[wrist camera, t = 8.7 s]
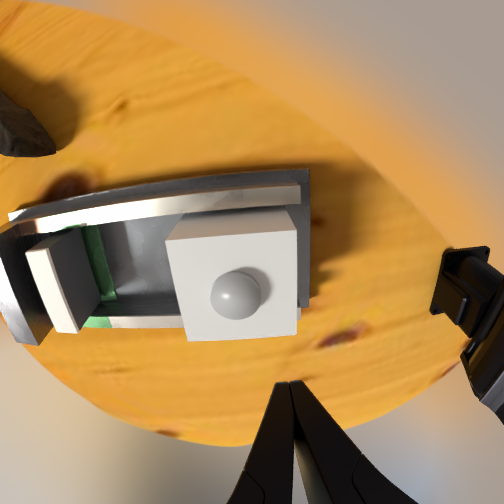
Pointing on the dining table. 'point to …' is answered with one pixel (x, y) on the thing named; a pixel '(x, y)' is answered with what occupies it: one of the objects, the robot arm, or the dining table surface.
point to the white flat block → (64, 279)
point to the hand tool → (22, 132)
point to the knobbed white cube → (235, 273)
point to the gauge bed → (138, 244)
